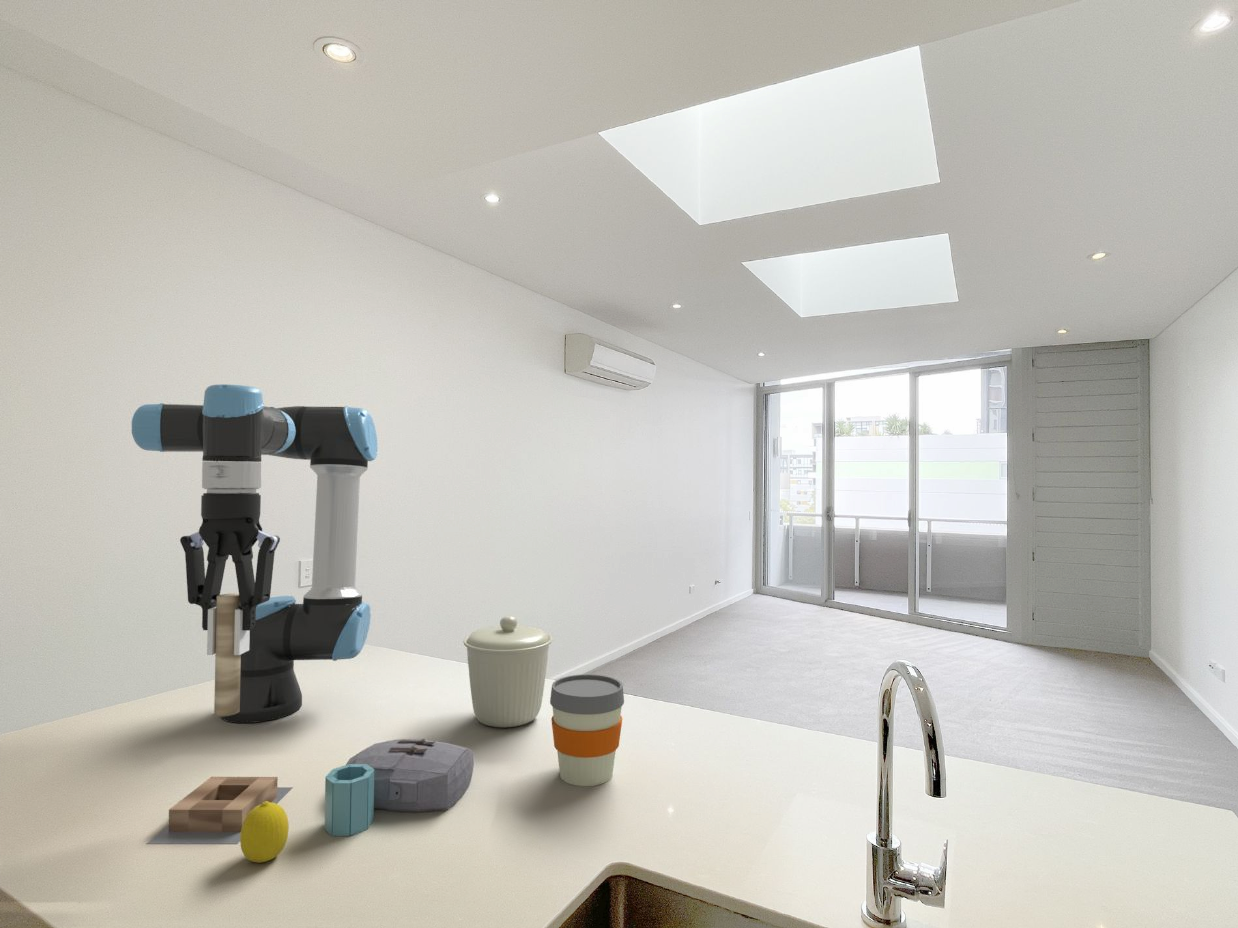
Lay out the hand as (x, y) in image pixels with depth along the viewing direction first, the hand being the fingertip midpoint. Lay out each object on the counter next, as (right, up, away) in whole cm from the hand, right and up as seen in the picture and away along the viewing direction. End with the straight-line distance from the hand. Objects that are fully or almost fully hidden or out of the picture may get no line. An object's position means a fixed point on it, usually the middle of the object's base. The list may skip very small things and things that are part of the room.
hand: (228, 652), depth 98 cm
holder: (0, -23, 0) cm, 23 cm away
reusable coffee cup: (+51, -25, +16) cm, 59 cm away
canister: (+34, -25, +40) cm, 59 cm away
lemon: (+11, -24, -11) cm, 29 cm away
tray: (0, -24, 0) cm, 24 cm away
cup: (+19, -24, -3) cm, 31 cm away
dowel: (0, -9, 0) cm, 9 cm away
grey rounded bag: (+23, -25, +8) cm, 35 cm away
